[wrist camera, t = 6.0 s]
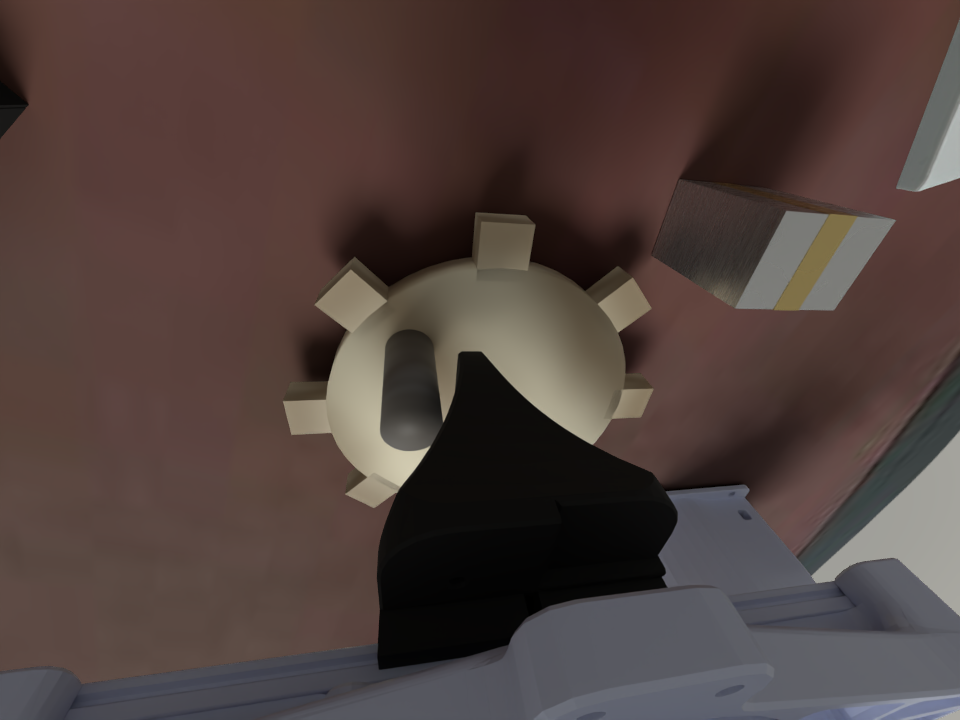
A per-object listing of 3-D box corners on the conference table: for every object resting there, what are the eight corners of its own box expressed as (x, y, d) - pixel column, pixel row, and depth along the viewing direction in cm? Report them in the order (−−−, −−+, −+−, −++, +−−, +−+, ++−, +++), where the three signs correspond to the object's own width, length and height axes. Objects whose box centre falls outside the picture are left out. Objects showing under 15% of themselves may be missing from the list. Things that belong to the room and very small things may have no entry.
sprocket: (515, 98, 11) (586, 99, 7) (691, 385, 20) (774, 467, 15) (206, 402, 15) (130, 522, 11) (462, 532, 24) (475, 630, 20)
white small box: (765, 186, 15) (897, 219, 11) (730, 259, 17) (833, 311, 13) (678, 178, 15) (786, 210, 10) (650, 256, 16) (735, 309, 12)
